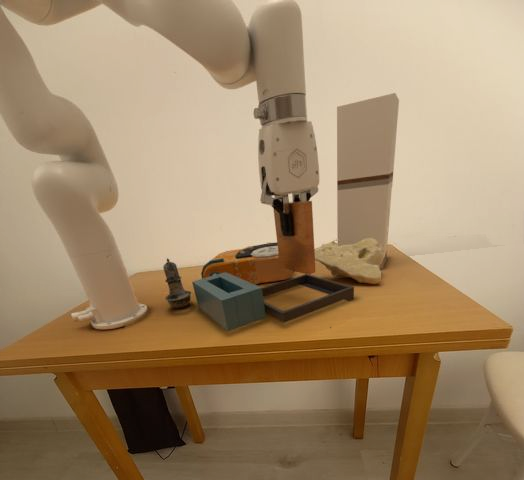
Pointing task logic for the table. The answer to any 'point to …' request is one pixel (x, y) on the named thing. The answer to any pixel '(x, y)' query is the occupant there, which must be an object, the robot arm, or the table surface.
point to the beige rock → (353, 260)
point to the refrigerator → (365, 169)
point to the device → (249, 264)
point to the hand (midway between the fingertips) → (293, 233)
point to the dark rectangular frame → (316, 283)
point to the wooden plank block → (297, 239)
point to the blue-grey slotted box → (229, 300)
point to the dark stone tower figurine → (175, 287)
